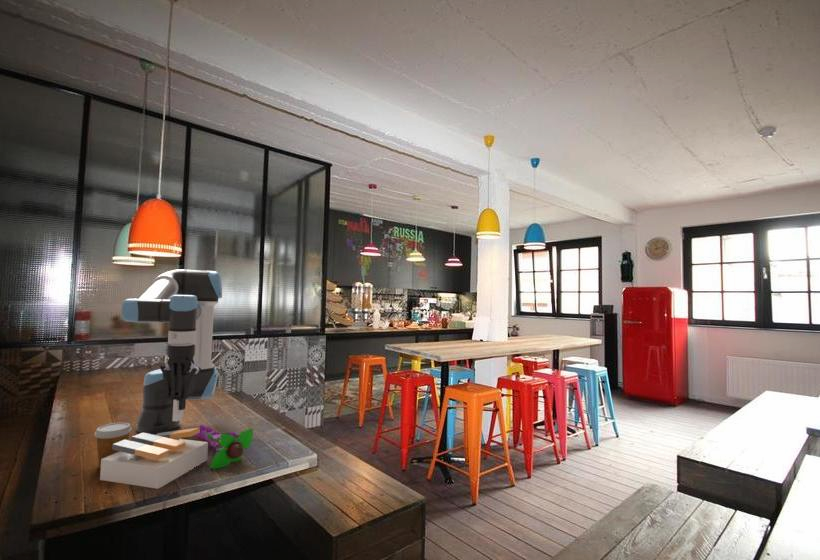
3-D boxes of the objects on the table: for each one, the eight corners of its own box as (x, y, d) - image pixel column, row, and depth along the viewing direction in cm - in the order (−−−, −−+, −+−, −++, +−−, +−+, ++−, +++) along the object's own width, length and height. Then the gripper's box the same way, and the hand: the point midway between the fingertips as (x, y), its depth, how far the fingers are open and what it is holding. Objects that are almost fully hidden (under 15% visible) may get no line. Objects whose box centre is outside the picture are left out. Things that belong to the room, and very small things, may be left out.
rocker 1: (112, 449, 118) (112, 444, 118) (124, 444, 122) (124, 439, 122) (157, 460, 115) (158, 454, 115) (168, 454, 119) (169, 449, 119)
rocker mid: (131, 441, 125) (131, 436, 125) (142, 437, 129) (142, 432, 129) (174, 451, 122) (175, 446, 122) (184, 446, 126) (185, 441, 126)
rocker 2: (149, 442, 131) (148, 437, 131) (159, 437, 135) (158, 433, 135) (191, 436, 128) (190, 431, 128) (200, 432, 132) (199, 427, 132)
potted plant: (225, 486, 124) (187, 460, 148) (268, 446, 135) (226, 428, 159) (204, 456, 121) (169, 434, 145) (251, 418, 132) (210, 404, 156)
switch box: (100, 479, 117) (101, 454, 117) (155, 453, 137) (157, 431, 137) (158, 488, 113) (159, 462, 113) (207, 460, 133) (208, 437, 133)
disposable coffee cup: (105, 458, 131) (107, 421, 132) (136, 458, 132) (138, 422, 133) (84, 471, 122) (87, 431, 122) (117, 471, 123) (119, 432, 123)
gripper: (154, 344, 123) (149, 421, 122) (191, 347, 120) (186, 426, 119) (173, 341, 130) (169, 414, 129) (208, 344, 127) (204, 418, 127)
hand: (177, 419), depth 124 cm, fingers closed
